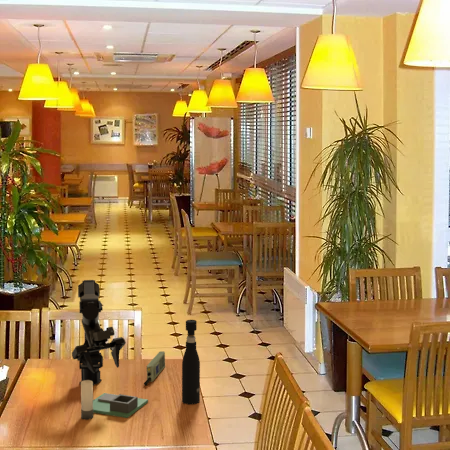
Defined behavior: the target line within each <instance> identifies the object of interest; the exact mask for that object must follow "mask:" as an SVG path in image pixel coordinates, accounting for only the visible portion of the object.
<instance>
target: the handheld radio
mask: <svg viewBox="0 0 450 450" xmlns="http://www.w3.org/2000/svg"><path fill="white" fill-rule="evenodd" d="M165 367H166V352H165V351H162V350H161V351H158V352H157V354H155V356H154V357H153V358H152V359H151V361H149V363H148V364H147V365H146V380H145V382H144V383H143V384H144V386H147V385H148V384H149V383H150V382H151V383H153V382H154V381H155V379H157V377H158V376H160V375H159V374H160V373H161V372H162V371H163V369H165Z"/></svg>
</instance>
